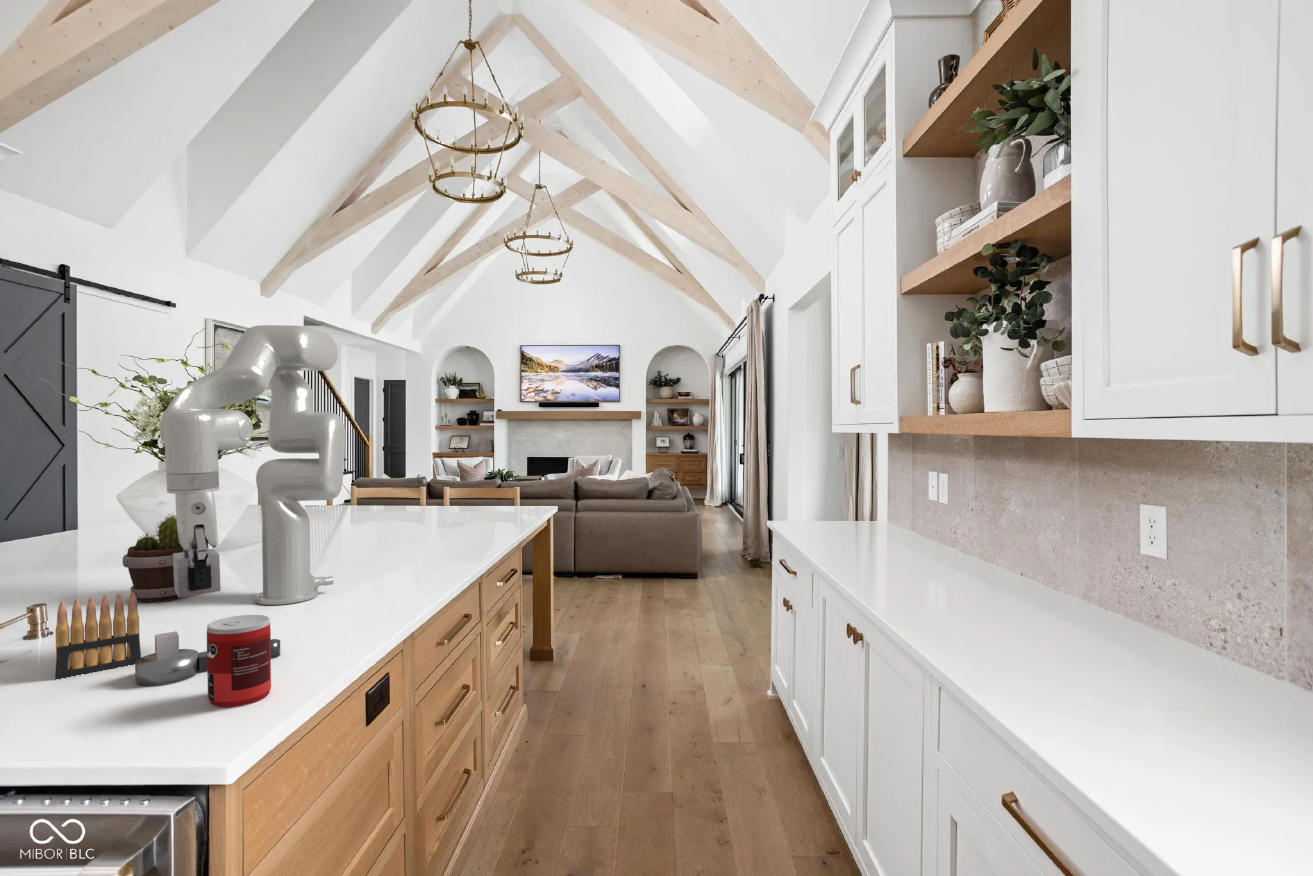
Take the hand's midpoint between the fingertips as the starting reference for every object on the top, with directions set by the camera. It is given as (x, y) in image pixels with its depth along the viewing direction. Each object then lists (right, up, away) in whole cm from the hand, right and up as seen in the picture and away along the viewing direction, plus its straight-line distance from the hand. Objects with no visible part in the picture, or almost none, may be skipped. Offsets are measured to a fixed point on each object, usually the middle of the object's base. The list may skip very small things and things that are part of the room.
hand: (197, 584), depth 119 cm
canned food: (+20, -12, -21) cm, 31 cm away
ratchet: (+8, -12, -8) cm, 16 cm away
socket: (0, -1, 0) cm, 1 cm away
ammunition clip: (-10, -12, -9) cm, 18 cm away
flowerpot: (-33, -11, +37) cm, 51 cm away
